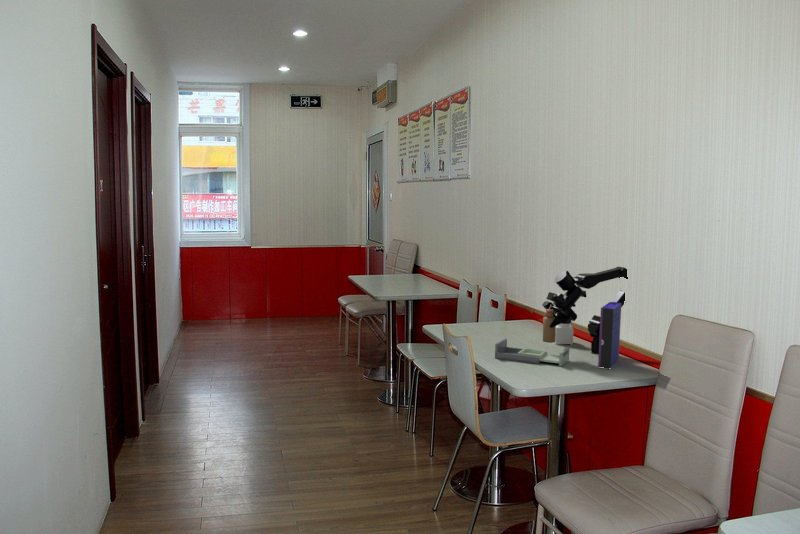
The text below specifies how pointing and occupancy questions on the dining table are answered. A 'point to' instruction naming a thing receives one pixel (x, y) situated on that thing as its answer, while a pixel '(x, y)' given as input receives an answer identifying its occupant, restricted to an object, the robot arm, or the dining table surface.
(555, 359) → the tray
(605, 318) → the cereal box
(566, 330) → the container
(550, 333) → the vinegar bottle
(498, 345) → the dock
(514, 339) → the dining table surface
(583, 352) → the dining table surface
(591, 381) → the dining table surface
